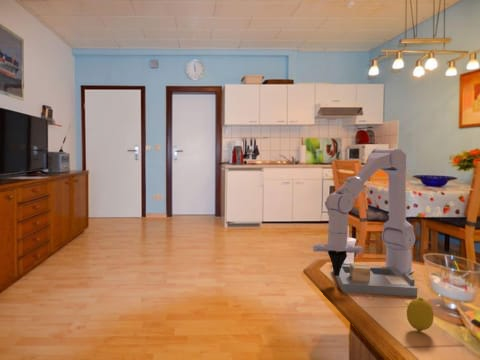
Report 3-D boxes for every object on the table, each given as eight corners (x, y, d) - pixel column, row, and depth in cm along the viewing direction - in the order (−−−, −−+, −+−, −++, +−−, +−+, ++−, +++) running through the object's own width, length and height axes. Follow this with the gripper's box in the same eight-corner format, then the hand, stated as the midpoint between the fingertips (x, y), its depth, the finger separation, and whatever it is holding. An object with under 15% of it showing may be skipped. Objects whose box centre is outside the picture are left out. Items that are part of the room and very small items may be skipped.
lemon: (436, 338, 81) (437, 303, 80) (409, 335, 82) (411, 301, 81) (428, 327, 86) (430, 294, 85) (403, 324, 87) (404, 292, 87)
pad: (384, 276, 115) (384, 276, 115) (402, 277, 115) (402, 277, 115) (391, 284, 108) (391, 283, 108) (410, 285, 108) (410, 284, 108)
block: (349, 275, 115) (350, 262, 115) (365, 276, 115) (366, 263, 115) (352, 280, 110) (353, 267, 110) (369, 281, 110) (370, 268, 110)
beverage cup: (349, 265, 135) (350, 228, 134) (335, 261, 139) (336, 225, 138) (358, 262, 138) (360, 226, 137) (345, 259, 143) (346, 223, 142)
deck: (332, 271, 127) (333, 260, 127) (395, 274, 125) (395, 262, 125) (342, 292, 107) (343, 279, 107) (417, 296, 105) (417, 282, 105)
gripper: (315, 233, 109) (313, 277, 110) (365, 235, 108) (363, 280, 109) (313, 229, 116) (311, 270, 117) (359, 230, 115) (358, 273, 116)
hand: (336, 274), depth 113 cm, fingers closed
